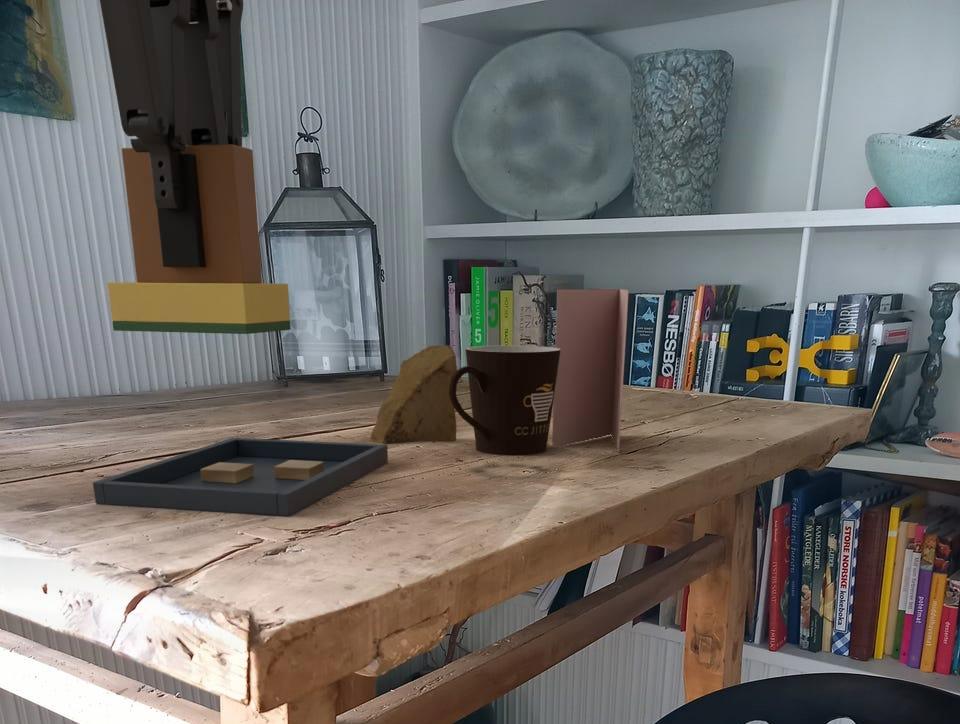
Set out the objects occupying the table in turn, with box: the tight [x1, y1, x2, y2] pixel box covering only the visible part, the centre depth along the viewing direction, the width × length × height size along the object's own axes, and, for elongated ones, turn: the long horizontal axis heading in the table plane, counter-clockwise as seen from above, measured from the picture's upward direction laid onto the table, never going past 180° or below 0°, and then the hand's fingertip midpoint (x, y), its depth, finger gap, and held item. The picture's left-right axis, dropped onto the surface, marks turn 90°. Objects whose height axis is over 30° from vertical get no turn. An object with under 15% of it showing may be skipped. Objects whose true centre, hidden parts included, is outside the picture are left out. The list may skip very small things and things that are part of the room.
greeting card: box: [551, 288, 630, 454], centre depth 94 cm, size 11×7×15 cm, turn 141°
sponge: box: [107, 144, 292, 335], centre depth 61 cm, size 10×6×11 cm, turn 74°
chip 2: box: [274, 460, 324, 480], centre depth 74 cm, size 3×3×1 cm
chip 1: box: [201, 462, 254, 484], centre depth 73 cm, size 3×3×1 cm
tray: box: [92, 437, 389, 518], centre depth 73 cm, size 15×21×2 cm
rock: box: [369, 344, 458, 445], centre depth 94 cm, size 11×9×10 cm
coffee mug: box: [449, 345, 561, 457], centre depth 86 cm, size 12×9×10 cm
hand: (198, 266), depth 62 cm, fingers closed on sponge, 2 cm apart
